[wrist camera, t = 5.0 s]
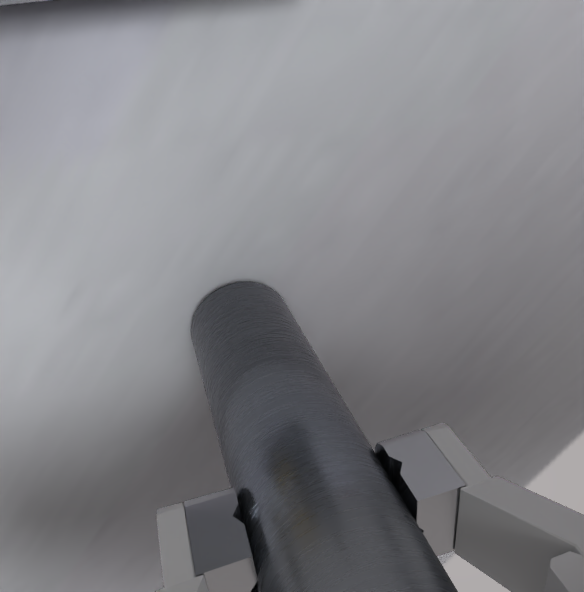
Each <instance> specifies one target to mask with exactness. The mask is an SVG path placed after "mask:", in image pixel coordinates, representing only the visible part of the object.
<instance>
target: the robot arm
mask: <svg viewBox="0 0 584 592" xmlns="http://www.w3.org/2000/svg"><path fill="white" fill-rule="evenodd" d="M375 454H376V456H377V457H378V459H379V461H380V462H381V464H382V466H383V467H384V469H385V471H386V472H387V474H388V476H389V477H390V479H391V481H392V483H393V484H394V486H395V488H396V489H397V491H398V493H399V494H400V496H401V498H402V499H403V501H404V503H405V504H406V506H407V508H408V509H409V511H410V513H411V514H412V516H413V518H414V519H415V521H416V523H417V524H418V526H419V528H420V529H421V531H422V533H423V534H424V536H425V538H426V539H427V541H428V543H429V544H430V546H431V548H432V549H433V551H434V553H435V554H436V556H439V555H442V554H445V553H448V552H451V551H454V550H455V553H456V554H457V555H459V556H460V557H461V558H463V559H464V560H466V561H467V562H469V563H470V564H472V565H473V566H475V567H476V568H478V569H479V570H480V571H482V572H484V573H485V574H486V575H488V576H489V577H491V578H492V579H494V580H495V581H496V582H498V583H499V584H501V585H502V586H504V587H505V588H507V589H508V590H510V591H511V592H584V515H583V514H581V513H579V512H576V511H574V510H572V509H570V508H567V507H565V506H563V505H561V504H559V503H557V502H554V501H552V500H550V499H548V498H546V497H543V496H541V495H539V494H537V493H534V492H532V491H530V490H528V489H526V488H523V487H521V486H519V485H517V484H515V483H512V482H510V481H508V480H506V479H503V478H501V477H499V476H496V477H492V478H491V477H490V476H489V474H488V473H487V472H486V471H485V470H484V468H483V467H482V466H481V465H480V464H479V462H478V461H477V460H476V459H475V457H474V456H473V455H472V454H471V453H470V451H469V450H468V449H467V448H466V447H465V445H464V444H463V443H462V442H461V440H460V439H459V438H458V437H457V436H456V434H455V433H454V432H453V431H452V430H451V428H450V427H449V426H448V425H447V424H445V423H440V424H436V425H433V426H430V427H427V428H423V429H421V430H416V431H413V432H410V433H407V434H403V435H400V436H397V437H394V438H391V439H388V440H385V441H381V442H378V443H377V445H376V447H375ZM156 519H157V529H158V538H159V548H160V558H161V568H162V577H163V587H164V588H161V589H159V590H156V591H155V592H258V588H257V585H256V582H257V581H258V579H257V574H256V570H255V566H254V561H253V557H252V553H251V549H250V545H249V541H248V537H247V533H246V529H245V526H244V524H243V521H242V517H241V512H240V508H239V503H238V500H237V496H236V493H235V489H234V487H233V488H230V489H226V490H223V491H219V492H215V493H212V494H208V495H205V496H201V497H197V498H194V499H190V500H186V501H184V502H180V503H177V504H173V505H170V506H166V507H163V508H159V509H157V515H156Z"/></svg>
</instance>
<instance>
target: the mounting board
mask: <svg viewBox="0 0 584 592" xmlns="http://www.w3.org/2000/svg"><path fill="white" fill-rule="evenodd" d="M42 1H51V0H0V6H3V5H13V4H22V3H32V2H42Z"/></svg>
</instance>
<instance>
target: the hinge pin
mask: <svg viewBox="0 0 584 592" xmlns="http://www.w3.org/2000/svg"><path fill="white" fill-rule="evenodd" d="M191 336H192V341H193V345H194V349H195V352H196V356H197V360H198V364H199V368H200V371H201V375H202V379H203V383H204V387H205V391H206V394H207V398H208V402H209V406H210V410H211V413H212V417H213V421H214V425H215V429H216V432H217V436H218V440H219V444H220V448H221V451H222V455H223V459H224V463H225V467H226V470H227V474H228V478H229V482H230V486H231V488H233V487H234V489H235V493H236V496H237V500H238V503H239V508H240V512H241V517H242V521H243V524H244V526H245V529H246V533H247V537H248V541H249V545H250V549H251V553H252V557H253V561H254V566H255V570H256V574H257V579H258V581H257V582H256V585H257V588H258V592H458V591H457V589H456V588H455V586H454V585H453V583H452V581H451V580H450V578H449V576H448V575H447V573H446V571H445V570H444V568H443V566H442V564H441V563H440V561H439V559H438V558H437V556H436V554H435V553H434V551H433V549H432V548H431V546H430V544H429V543H428V541H427V539H426V538H425V536H424V534H423V533H422V531H421V529H420V528H419V526H418V524H417V523H416V521H415V519H414V518H413V516H412V514H411V513H410V511H409V509H408V508H407V506H406V504H405V503H404V501H403V499H402V498H401V496H400V494H399V493H398V491H397V489H396V488H395V486H394V484H393V483H392V481H391V479H390V477H389V476H388V474H387V472H386V471H385V469H384V467H383V466H382V464H381V462H380V461H379V459H378V457H377V456H376V454H375V452H374V451H373V449H372V447H371V446H370V444H369V442H368V441H367V439H366V437H365V436H364V434H363V432H362V431H361V429H360V427H359V426H358V424H357V422H356V421H355V419H354V417H353V416H352V414H351V412H350V411H349V409H348V407H347V406H346V404H345V402H344V401H343V399H342V397H341V396H340V394H339V392H338V391H337V389H336V387H335V386H334V384H333V382H332V381H331V379H330V377H329V376H328V374H327V372H326V371H325V369H324V367H323V365H322V364H321V362H320V360H319V359H318V357H317V355H316V354H315V352H314V350H313V349H312V347H311V345H310V344H309V342H308V340H307V339H306V337H305V335H304V334H303V332H302V330H301V329H300V327H299V325H298V324H297V322H296V320H295V319H294V317H293V315H292V314H291V312H290V310H289V309H288V307H287V305H286V304H285V302H284V300H283V299H282V298H281V296H280V295H279V294H278V293H277V292H275V291H274V290H273V289H271V288H269V287H267V286H265V285H262V284H259V283H253V282H240V283H234V284H230V285H227V286H225V287H222V288H220V289H218V290H217V291H215V292H213V293H212V294H211V295H209V296H208V297H207V298H206V299H205V300H204V301H203V302H202V303H201V305H200V306H199V308H198V309H197V311H196V313H195V315H194V318H193V321H192V326H191Z"/></svg>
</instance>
